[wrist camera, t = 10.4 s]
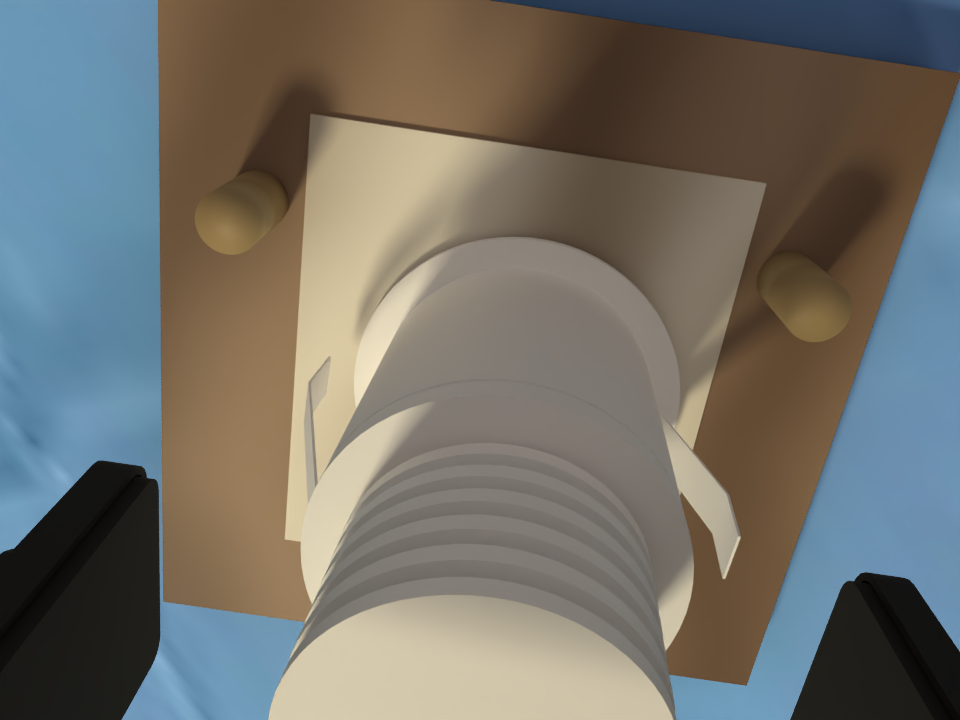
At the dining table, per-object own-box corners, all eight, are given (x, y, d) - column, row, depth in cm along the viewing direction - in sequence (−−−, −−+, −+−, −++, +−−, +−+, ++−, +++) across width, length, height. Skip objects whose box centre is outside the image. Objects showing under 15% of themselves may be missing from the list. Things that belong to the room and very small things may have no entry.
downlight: (742, 276, 17) (956, 587, 8) (651, 554, 20) (730, 1027, 11) (358, 197, 17) (123, 412, 8) (321, 485, 20) (114, 894, 11)
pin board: (932, 69, 17) (1020, 82, 14) (735, 652, 22) (767, 749, 20) (181, -48, 16) (108, -60, 13) (180, 572, 22) (129, 658, 19)
